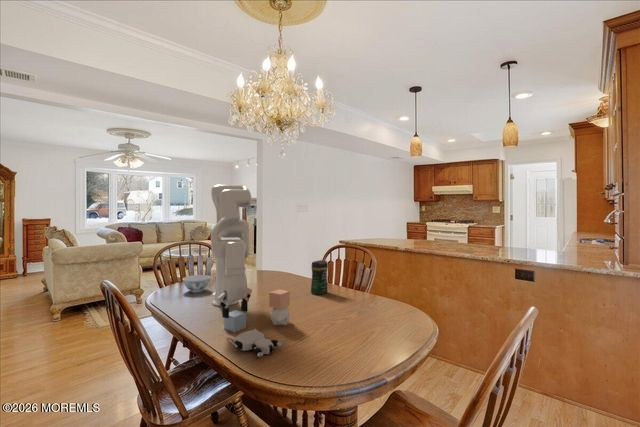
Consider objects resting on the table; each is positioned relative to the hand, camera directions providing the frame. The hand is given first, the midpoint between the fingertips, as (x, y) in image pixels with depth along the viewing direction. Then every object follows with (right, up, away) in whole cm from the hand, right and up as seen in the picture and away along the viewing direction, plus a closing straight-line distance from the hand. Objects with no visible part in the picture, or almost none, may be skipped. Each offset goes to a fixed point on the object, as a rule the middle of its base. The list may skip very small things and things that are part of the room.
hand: (235, 314), depth 128 cm
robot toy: (+12, -7, -18) cm, 23 cm away
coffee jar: (+34, -5, +54) cm, 64 cm away
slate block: (0, -6, +1) cm, 6 cm away
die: (+17, -6, +6) cm, 19 cm away
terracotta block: (+17, +2, +5) cm, 18 cm away
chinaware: (-37, -4, +55) cm, 67 cm away
